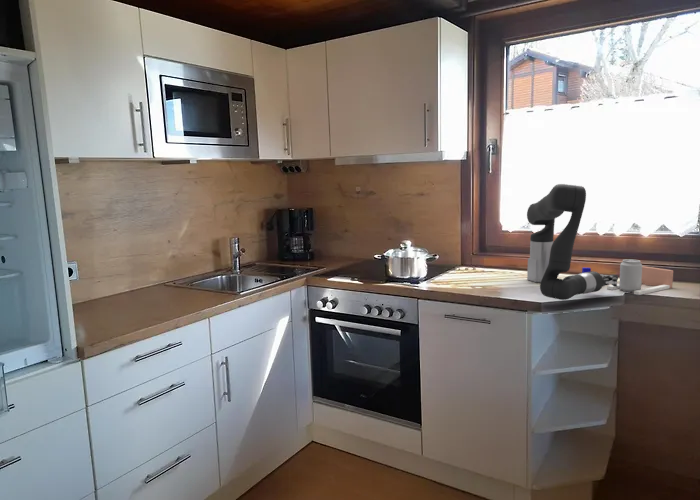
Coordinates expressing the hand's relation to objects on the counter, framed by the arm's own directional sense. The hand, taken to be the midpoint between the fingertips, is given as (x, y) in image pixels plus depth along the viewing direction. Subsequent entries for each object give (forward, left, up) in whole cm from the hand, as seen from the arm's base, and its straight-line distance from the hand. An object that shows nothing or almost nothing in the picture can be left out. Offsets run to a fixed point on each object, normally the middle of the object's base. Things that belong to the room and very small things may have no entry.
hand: (615, 277), depth 197 cm
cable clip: (+3, +18, -7) cm, 20 cm away
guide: (+15, +4, -6) cm, 17 cm away
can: (+9, +2, -6) cm, 11 cm away
